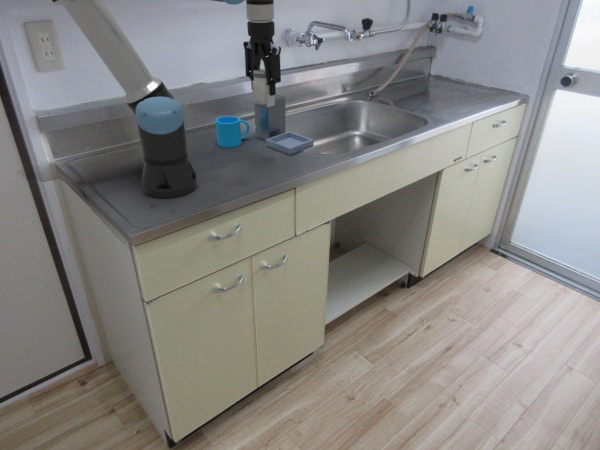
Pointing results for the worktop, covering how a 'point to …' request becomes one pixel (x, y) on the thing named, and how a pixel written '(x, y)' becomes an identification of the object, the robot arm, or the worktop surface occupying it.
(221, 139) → the mug
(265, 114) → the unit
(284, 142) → the tray
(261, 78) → the cylinder
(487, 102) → the worktop surface
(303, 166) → the worktop surface
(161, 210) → the worktop surface
